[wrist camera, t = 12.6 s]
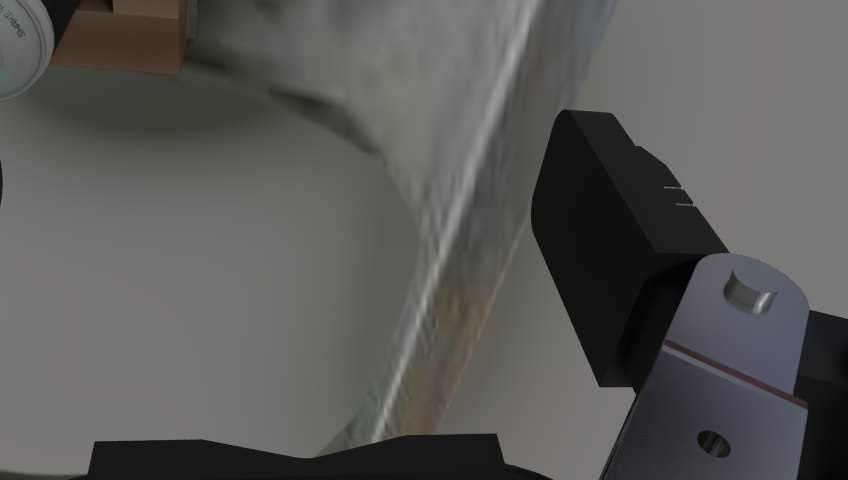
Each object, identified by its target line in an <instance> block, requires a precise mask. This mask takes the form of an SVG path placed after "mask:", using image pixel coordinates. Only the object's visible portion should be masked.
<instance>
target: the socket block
mask: <svg viewBox="0 0 848 480" xmlns="http://www.w3.org/2000/svg"><path fill="white" fill-rule="evenodd" d="M197 38H198V0H80V2H79V4H78V6H77V8H76V10H75V12H74V14H73V16H72V18H71V20H70V22H69V24H68V26H67V28H66V30H65V32H64V34H63V36H62V38H61V40H60V42H59V44H58V46H57V48H56V50H55V52H54V54H53V56H52V58H51V60H50V62H49V64H48V65H57V66H69V67H82V68H96V69H110V70H123V71H135V72H149V73H162V74H175V75H180V71H181V66H182V61H183V56H184V51H185V46H186V41H187V39H197Z"/></svg>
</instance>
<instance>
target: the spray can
mask: <svg viewBox="0 0 848 480" xmlns="http://www.w3.org/2000/svg"><path fill="white" fill-rule="evenodd" d="M79 2H80V0H0V101H5V100H8V99H11V98H13V97H16V96H18V95H20V94H21V93H23V92H25V91H26V90H28V89H29V88H30V87H31V85H32V84H34V82H36V80H37V79H38V78H39V77H40V76H41V75H42V74H43V73H44V71H45V69H46V67H47V66H48V64H49V62H50V60H51V58H52V56H53V54H54V52H55V50H56V48H57V46H58V44H59V42H60V40H61V38H62V36H63V34H64V32H65V30H66V28H67V26H68V24H69V22H70V20H71V18H72V16H73V14H74V12H75V10H76V8H77V6H78V4H79Z"/></svg>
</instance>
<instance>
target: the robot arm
mask: <svg viewBox="0 0 848 480" xmlns="http://www.w3.org/2000/svg"><path fill="white" fill-rule="evenodd" d="M2 186H3V181H2V168H1V162H0V204H1V198H2ZM531 224H532V230H533V233H534V236H535V238H536V241H537V243H538V246H539V248H540V250H541V253H542V255H543V257H544V260H545V262H546V264H547V266H548V269H549V271H550V273H551V276H552V278H553V280H554V283H555V285H556V287H557V289H558V292H559V294H560V297H561V299H562V301H563V304H564V306H565V308H566V311H567V313H568V315H569V317H570V320H571V322H572V324H573V327H574V329H575V332H576V334H577V336H578V338H579V341H580V343H581V345H582V348H583V350H584V352H585V355H586V357H587V359H588V362H589V364H590V366H591V369H592V371H593V373H594V376H595V378H596V380H597V383H598V385H599V387H632V388H633V390H634V392H635V394H636V397H635V399H634V402H633V403H632V405H631V408H630V410H629V412H628V414H627V416H626V419H625V421H624V423H623V426H622V428H621V430H620V432H619V435H618V437H617V439H616V441H615V444H614V446H613V448H612V450H611V453H610V455H609V457H608V460H607V462H606V464H605V466H604V469H603V471H602V473H601V475H600V478H599V480H848V319H845V318H841V317H837V316H833V315H829V314H825V313H821V312H817V311H813V310H809V304H808V301H807V298H806V296H805V295H804V293H803V292H802V290H801V289H800V288H799V287H798V286H797V285H796V284H795V282H793V281H792V280H791V279H790V278H789V277H788V276H786V275H785V274H783V273H782V272H780V271H779V270H777V269H775V268H774V267H772V266H770V265H768V264H766V263H763V262H761V261H759V260H756V259H753V258H750V257H747V256H743V255H738V254H731V253H730V252H729V251H728V249H727V248H726V247H725V245H724V244H723V243H722V241H721V240H720V238H719V237H718V236H717V234H716V233H715V232H714V230H713V229H712V228H711V226H710V225H709V223H708V222H707V221H706V219H705V218H704V217H703V215H702V214H701V213H700V211H699V210H698V208H697V207H694V206H693V201H692V200H691V199H690V197H689V196H688V195H687V193H686V192H685V190H681V185H680V184H679V182H678V181H677V180H676V178H675V177H674V175H673V174H672V173H671V171H670V170H669V169H668V168H667V166H666V165H665V164H664V163H663V162H661V161H660V160H658V159H657V158H656V157H654V156H653V155H652V154H650V153H649V152H648V151H646V150H645V149H644V148H642V147H641V146H635V145H634V143H633V142H632V140H631V139H630V137H629V136H628V135H627V133H626V132H625V130H624V129H623V127H622V126H621V124H620V123H619V122H618V120H617V119H616V117H615V116H614V115H613V114H611V113H605V112H592V111H578V110H562V111H561V112H560V113H559V114H558V116H557V117H556V120H555V122H554V125H553V128H552V131H551V135H550V138H549V142H548V145H547V149H546V152H545V156H544V159H543V162H542V166H541V169H540V173H539V176H538V180H537V183H536V187H535V190H534V194H533V198H532V205H531ZM68 480H553V479H551V478H548V477H546V476H543V475H541V474H539V473H536V472H533V471H530V470H527V469H523V468H520V467H517V466H513V465H509V464H505V462H504V459H503V455H502V452H501V448H500V445H499V441H498V437H497V434H455V435H454V434H452V435H405V436H401V437H397V438H393V439H389V440H385V441H381V442H377V443H373V444H369V445H365V446H361V447H357V448H353V449H349V450H345V451H340V452H336V453H332V454H328V455H324V456H320V457H315V458H306V459H305V458H296V457H291V456H286V455H280V454H275V453H270V452H264V451H260V450H254V449H249V448H243V447H239V446H233V445H228V444H223V443H218V442H213V441H207V440H202V439H200V440H148V441H97V442H94V447H93V452H92V457H91V461H90V466H89V471H88V474H87V475H83V476H79V477H75V478H71V479H68Z"/></svg>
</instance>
